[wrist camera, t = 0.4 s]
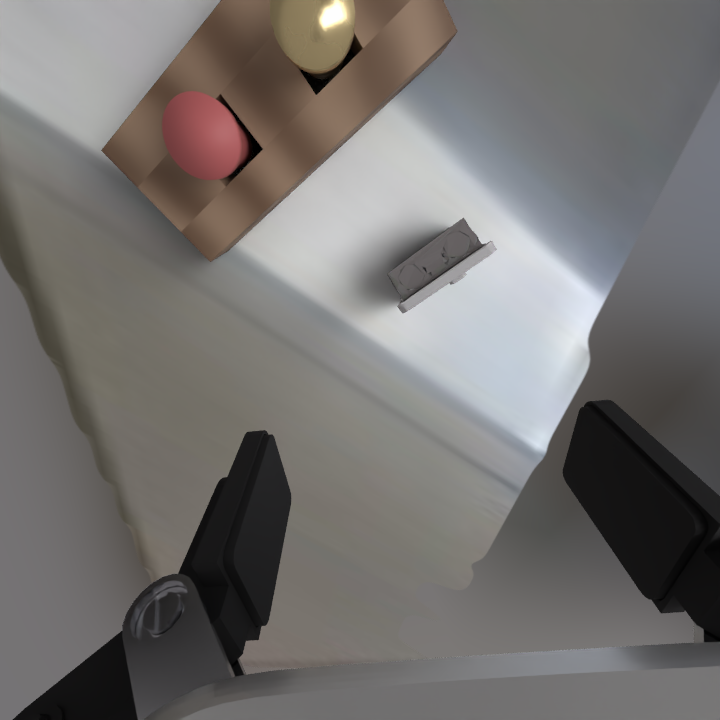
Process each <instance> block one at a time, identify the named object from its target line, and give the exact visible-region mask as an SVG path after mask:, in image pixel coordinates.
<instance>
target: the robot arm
mask: <svg viewBox="0 0 720 720" xmlns="http://www.w3.org/2000/svg"><path fill="white" fill-rule="evenodd" d="M563 476H564V479H565V481H566V483H567V484H568V486H569V487H570V489H571V490H572V492H573V493H574V495H575V496H576V497H577V499H578V501H579V502H580V503H581V505H582V506H583V508H584V509H585V511H586V512H587V514H588V515H589V517H590V518H591V520H592V521H593V523H594V524H595V525H596V527H597V528H598V530H599V531H600V533H601V534H602V536H603V537H604V539H605V540H606V542H607V543H608V545H609V546H610V547H611V549H612V550H613V552H614V553H615V555H616V556H617V558H618V559H619V561H620V562H621V564H622V565H623V567H624V568H625V570H626V571H627V572H628V574H629V575H630V577H631V578H632V580H633V581H634V583H635V584H636V586H637V587H638V589H639V590H640V591H641V593H642V594H643V595H644V596H645V597H646V598H648V599H651V600H652V601H653V602H654V604H655V605H656V607H657V608H658V610H659V611H660V612H661V613H673V612H684V611H686V612H687V613H688V615H689V616H690V617H691V619H692V620H693V621H694V643H681V644H680V643H679V644H664V645H663V644H662V645H645V646H629V647H628V646H627V647H611V648H593V649H577V650H576V649H575V650H558V651H543V652H526V653H511V654H495V655H479V656H463V657H447V658H432V659H417V660H403V661H388V662H373V663H359V664H344V665H332V666H321V667H309V668H298V669H287V670H276V671H268V672H261V673H255V674H248V675H246V673H245V671H244V668H243V666H242V664H241V661H240V659H239V657H240V656H241V655H242V654H243V650H244V646H245V642H246V641H249V640H259V635H260V630H261V626H265V625H267V623H268V620H269V616H270V611H271V606H272V600H273V595H274V590H275V585H276V579H277V574H278V569H279V564H280V558H281V553H282V548H283V543H284V537H285V532H286V527H287V522H288V516H289V511H290V506H291V492H290V489H289V485H288V482H287V479H286V475H285V472H284V469H283V465H282V462H281V459H280V455H279V452H278V449H277V445H276V442H275V439H274V436H273V435H268V433H267V431H265V430H264V431H252V432H247V433H246V434H245V436H244V438H243V441H242V443H241V446H240V448H239V450H238V453H237V455H236V458H235V460H234V462H233V465H232V467H231V470H230V472H229V475H228V477H225V478H222V479H221V480H220V481H219V482H218V484H217V486H216V488H215V491H214V493H213V495H212V497H211V500H210V502H209V504H208V507H207V509H206V511H205V513H204V516H203V518H202V520H201V523H200V525H199V527H198V529H197V532H196V534H195V536H194V539H193V541H192V543H191V545H190V548H189V550H188V552H187V555H186V557H185V559H184V561H183V564H182V566H181V568H180V571H179V573H178V574H171V575H168V576H164V577H162V578H160V579H158V580H156V581H155V582H153V583H152V584H150V585H149V586H148V587H147V588H146V589H144V590H143V591H142V592H141V593H140V594H139V596H138V597H137V598H136V599H135V600H134V601H133V603H132V605H131V606H130V608H129V610H128V611H127V613H126V616H125V619H124V622H123V625H122V631H121V632H120V633H119V634H117V635H116V636H115V637H114V638H113V639H111V640H110V641H109V642H108V643H106V644H105V645H104V646H103V647H101V648H100V649H99V650H97V651H96V652H95V653H94V654H92V655H91V656H90V657H89V658H87V659H86V660H85V661H84V662H83V663H81V664H80V665H79V666H77V667H76V668H75V669H74V670H73V671H71V672H70V673H69V674H67V675H66V676H65V677H64V678H63V679H61V680H60V681H59V682H58V683H56V684H55V685H54V686H53V687H51V688H50V689H49V690H48V691H46V692H45V693H44V694H43V695H41V696H40V697H39V698H38V699H36V700H35V701H34V702H33V703H31V704H30V705H29V706H28V707H26V708H25V709H24V710H23V711H22V712H21V713H20V714H18V715H17V716H16V717H15V718H14V719H13V720H720V496H719V495H718V494H717V493H715V492H714V491H713V490H712V489H711V488H710V487H709V486H708V485H706V484H705V483H704V482H703V481H702V480H701V479H700V478H698V477H697V476H696V475H695V474H694V473H693V472H692V471H691V470H690V469H688V468H687V467H686V466H685V465H684V464H683V463H681V461H679V460H678V459H677V458H676V457H675V456H674V455H673V454H672V453H670V452H669V451H668V450H667V449H666V448H665V447H664V446H663V445H662V444H660V443H659V442H658V441H657V440H656V439H655V438H654V437H653V436H651V435H650V434H649V433H648V432H647V431H646V430H645V429H643V428H642V427H641V426H640V425H639V424H638V423H637V422H636V421H635V420H633V419H632V418H631V417H630V416H629V415H628V414H627V413H626V412H624V411H623V410H622V409H621V408H620V407H619V406H618V405H616V404H615V403H614V402H613V401H611V400H601V401H590V402H587V403H586V404H585V406H584V407H582V408H581V409H580V410H579V414H578V417H577V421H576V424H575V428H574V432H573V435H572V439H571V442H570V446H569V450H568V453H567V457H566V460H565V464H564V468H563Z"/></svg>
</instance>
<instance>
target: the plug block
mask: <svg viewBox="0 0 720 720" xmlns="http://www.w3.org/2000/svg"><path fill="white" fill-rule="evenodd" d="M354 6H355V30H354V36H353V41H352V44H351V47H350V48H351V50H352V52H353V54H354V55H355V57H354V58H353V59H352V60H351V61H350V62H349V63H348V64H347V65H346V66H345V67H344V68H343V69H342V70H341V71H340V72H339V73H338V74H337V75H336V76H335V77H334V78H333V79H332V80H331V81H330V82H329V83H328V84H327V85H326V86H325V87H324V88H323V89H322V90H321V91H320V92H319V93H318V94H317V95H316V94H315V93H314V91H313V90H312V88H311V87H310V85H309V84H308V82H307V81H306V79H305V78H304V76H303V75H302V73H301V72H300V70H299V68H298V67H297V66H295V65H294V64H293V63H292V62H291V61H290V60H289V59H288V58H287V56H286V55H285V53H284V52H283V50H282V48H281V47H280V45H279V43H278V41H277V39H276V37H275V34H274V31H273V28H272V24H271V18H270V0H221V1H220V3H219V4H218V5H217V6H216V8H215V9H214V10H213V11H212V13H211V14H210V15H209V16H208V18H207V19H206V20H205V21H204V23H203V24H202V25H201V26H200V28H199V29H198V30H197V31H196V33H195V34H194V35H193V36H192V38H191V39H190V40H189V41H188V43H187V44H186V45H185V46H184V48H183V49H182V50H181V51H180V53H179V54H178V55H177V56H176V58H175V59H174V60H173V61H172V63H171V64H170V65H169V66H168V68H167V69H166V70H165V71H164V73H163V74H162V75H161V76H160V78H159V79H158V80H157V81H156V83H155V84H154V85H153V86H152V88H151V89H150V90H149V91H148V93H147V94H146V95H145V96H144V98H143V99H142V100H141V101H140V103H139V104H138V105H137V106H136V108H135V109H134V110H133V111H132V113H131V114H130V115H129V116H128V118H127V119H126V120H125V121H124V123H123V124H122V125H121V126H120V128H119V129H118V130H117V131H116V133H115V134H114V135H113V136H112V138H111V139H110V140H109V141H108V143H107V144H106V145H105V146H104V148H103V149H102V150H101V151H102V152H103V153H104V154H105V155H106V156H107V157H108V158H109V159H110V160H111V161H112V162H113V163H114V164H115V165H116V166H117V167H118V168H119V169H120V170H121V171H122V172H123V173H124V174H125V175H126V176H127V177H128V178H129V179H130V180H131V181H132V182H133V183H134V184H135V185H136V186H137V187H138V188H139V189H140V190H141V192H142V193H143V194H144V195H145V196H146V197H147V198H148V199H149V200H150V201H151V202H152V203H153V204H154V205H155V206H156V207H157V208H158V209H159V210H160V211H161V212H162V213H163V214H164V215H165V216H166V217H167V218H168V219H169V220H170V221H171V222H172V223H173V224H174V225H175V226H176V227H177V228H178V229H179V230H180V231H181V232H182V233H183V235H184V236H185V237H186V238H187V239H188V240H189V241H190V242H191V243H192V244H193V245H194V246H195V247H196V248H197V249H198V250H199V251H200V252H201V253H202V254H203V255H204V256H205V257H206V258H207V259H208V260H209V261H210V262H211V261H213V260H214V259H216V258H218V257H219V256H221V255H222V254H224V253H226V252H227V251H229V250H230V249H231V248H232V247H233V246H234V245H235V244H236V243H237V242H238V241H239V240H240V239H241V238H243V237H244V236H245V235H246V234H247V233H248V232H249V231H250V230H251V229H252V228H253V227H254V226H256V225H257V224H258V223H259V222H260V221H261V220H262V219H263V218H264V217H265V216H266V215H267V214H268V213H270V212H271V211H272V210H273V209H274V208H275V207H276V206H277V205H278V204H279V203H280V202H281V201H283V200H284V199H285V198H286V197H287V196H288V195H289V194H290V193H291V192H292V191H293V190H294V189H296V188H297V187H298V186H299V185H300V184H301V183H302V182H303V181H304V180H305V179H306V178H307V177H308V176H310V175H311V174H312V173H313V172H314V171H315V170H316V169H317V168H318V167H319V166H320V165H321V164H323V163H324V162H325V161H326V160H327V159H328V158H329V157H330V156H331V155H332V154H333V153H334V152H335V151H337V150H338V149H339V148H340V147H341V146H342V145H343V144H344V143H345V142H346V141H347V140H348V139H350V138H351V137H352V136H353V135H354V134H355V133H356V132H357V131H358V130H359V129H360V128H361V127H362V126H364V125H365V124H366V123H367V122H368V121H369V120H370V119H371V118H372V117H373V116H374V115H375V114H377V113H378V112H379V111H380V110H381V109H382V108H383V107H384V106H385V105H386V104H387V103H388V102H390V101H391V100H392V99H393V98H394V97H395V96H396V95H397V94H398V93H399V92H400V91H401V90H402V89H404V88H405V87H406V86H407V85H408V84H409V83H410V82H411V81H412V80H413V79H414V78H415V77H417V76H418V75H419V74H420V73H421V72H422V71H423V70H424V69H425V68H426V67H427V66H428V65H429V64H431V63H432V62H433V61H434V60H435V59H436V58H437V57H438V56H439V55H440V54H441V53H442V52H443V51H444V49H445V48H446V46H447V45H448V44H449V42H450V41H451V40H452V38H453V37H454V36H455V34H456V33H457V32H458V31H457V29H456V27H455V25H454V23H453V20H452V18H451V16H450V14H449V12H448V10H447V7H446V5H445V3H444V1H443V0H354ZM187 91H196V92H201V93H204V94H207V95H209V96H211V97H212V98H214V99H216V100H218V101H219V102H221V103H222V104H223V105H224V106H225V107H227V108H228V110H229V111H230V112H231V113H232V114H233V113H234V112H235V113H236V115H237V116H238V117H239V119H240V120H241V121H242V122H243V124H244V125H245V126H246V128H247V129H248V130H249V131H250V133H251V134H252V135H253V137H254V138H255V139H256V141H257V142H258V143H259V144H260V146H261V147H262V148H263V150H262V151H261V152H260V153H259V154H258V155H257V156H256V157H255V158H254V159H253V160H252V161H251V162H250V163H249V164H248V165H247V166H246V167H245V168H244V169H243V170H242V171H241V172H240V173H239V174H238V175H237V176H235V175H234V174H233V173H232V174H230V175H229V176H227V177H225V178H223V179H218V180H203V179H199V178H196V177H194V176H192V175H190V174H188V173H187V172H185V171H184V170H183V169H182V168H181V167H180V166H179V165H178V164H177V163H176V162H175V161H174V159H173V158H172V156H171V155H170V153H169V151H168V149H167V147H166V144H165V141H164V138H163V132H162V120H163V114H164V111H165V109H166V107H167V105H168V103H169V102H170V101H171V100H172V99H173V98H174V97H175V96H177V95H178V94H180V93H183V92H187Z"/></svg>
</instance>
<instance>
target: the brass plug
mask: <svg viewBox="0 0 720 720" xmlns="http://www.w3.org/2000/svg"><path fill="white" fill-rule="evenodd" d="M270 18H271V24H272V28H273V31H274V34H275V37H276V39H277V41H278V43H279V45H280V47H281V48H282V50H283V52H284V53H285V55H286V56H287V58H288V59H289V60H290V61H291V62H292V63H293V64H294V65H295V66H297V67H298V68H300V69H301V70H303V71H306V72H308V73H309V74H310V75H311V76H313V77H315V78H318V79H328V78H331V77H332V76H334V75H335V74H336V73H337V72H338V71H339V70H340V68H341V66H342V64H343V62H344V58H345V56H346V55H347V53H348V51H349V49H350V47H351V44H352V41H353V36H354V30H355V6H354V0H270Z"/></svg>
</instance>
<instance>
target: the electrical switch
mask: <svg viewBox="0 0 720 720" xmlns="http://www.w3.org/2000/svg"><path fill="white" fill-rule="evenodd" d="M495 250H497V249H496V247H495V246H494V244H493V242H492V241H490V242H488V243H487V244H481V242H480V241H479V239H478V237H477V235H476V234H475V233H474V232H473V231H472V230H471V229H470V227H469V226H468V224H467V222H466V221H465V219H464V218H463V219H461V220H460V221H458V222H457V223H456V224H454V225H453V226H452V227H450V228H449V229H448V230H446V231H445V232H443V233H442V234H441V235H439V236H438V237H437V238H435V239H434V240H433V241H431V242H430V243H428V244H427V245H426V246H424V247H423V248H422V249H420V250H419V251H418V252H416V253H415V254H413V255H412V256H411V257H409V258H408V259H407V260H405V261H404V262H403V263H401V264H400V265H398V266H397V267H396V268H394V269H393V270H392V271H390V272H389V273H388V274H387V275H388V276H389V278H390V279H391V281H392V283H393V285H394V287H395V288H396V290H397V291H398V292H399V294H400V295H401V298H400V299H401V301H400V304H399V305H398V306H397V307H398V308H399V309H400V311H401V312H402V313H405V312H407V311H408V310H410V309H412V308H413V307H415V306H416V305H418V304H419V303H420V302H422V301H423V300H425V299H426V298H428V297H429V296H431V295H432V294H434V293H435V292H437V291H438V290H440V289H441V288H443V287H444V286H445V285H447V284H449V283H450V284H454V283H456V282H458V281H459V280H461V279H462V278H464V277H465V276H466V273H465V272H466V271H467V270H469V269H470V268H472V267H473V266H475V265H476V264H478V263H479V262H481V261H482V260H484V259H485V258H487V257H488V256H489V255H491V254H492V253H493V252H494V251H495Z"/></svg>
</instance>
